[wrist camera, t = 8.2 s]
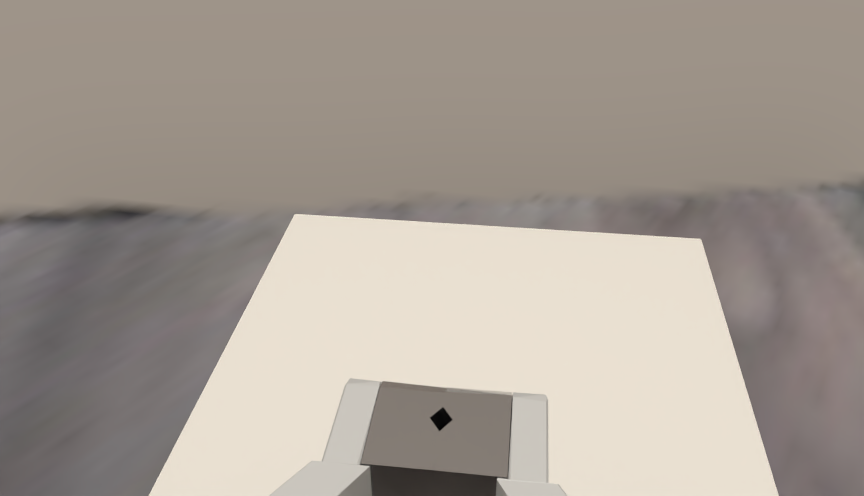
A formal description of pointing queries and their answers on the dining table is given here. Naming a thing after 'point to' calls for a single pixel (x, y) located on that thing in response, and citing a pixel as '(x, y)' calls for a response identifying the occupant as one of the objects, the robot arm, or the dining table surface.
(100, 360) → the dining table surface
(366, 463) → the robot arm
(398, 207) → the dining table surface
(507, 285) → the tile
